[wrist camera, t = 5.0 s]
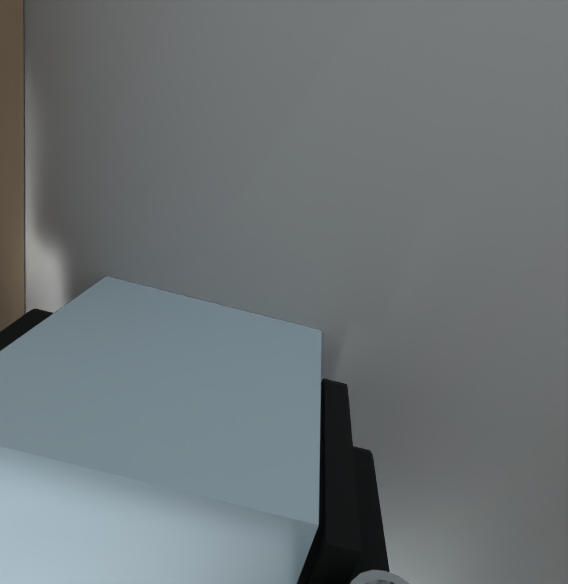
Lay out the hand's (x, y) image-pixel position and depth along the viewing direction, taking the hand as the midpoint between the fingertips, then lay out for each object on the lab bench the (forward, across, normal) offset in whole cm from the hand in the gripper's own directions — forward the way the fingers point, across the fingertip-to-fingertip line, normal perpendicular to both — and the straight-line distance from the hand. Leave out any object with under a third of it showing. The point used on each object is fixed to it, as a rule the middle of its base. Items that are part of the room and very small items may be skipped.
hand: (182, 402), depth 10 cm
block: (+2, 0, +1) cm, 2 cm away
